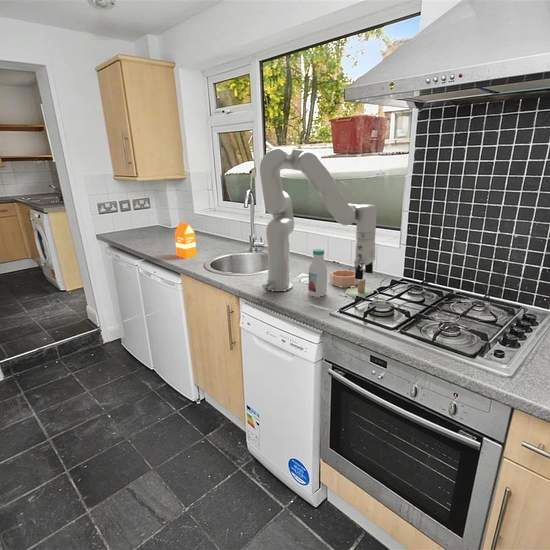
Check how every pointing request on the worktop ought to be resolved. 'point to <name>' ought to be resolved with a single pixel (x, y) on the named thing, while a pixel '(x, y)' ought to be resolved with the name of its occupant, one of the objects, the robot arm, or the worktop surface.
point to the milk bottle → (317, 274)
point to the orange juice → (185, 241)
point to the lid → (359, 290)
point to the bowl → (343, 278)
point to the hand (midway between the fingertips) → (363, 275)
